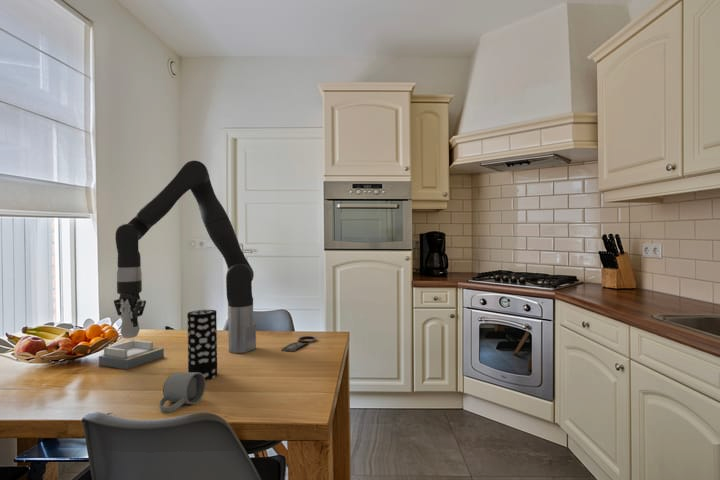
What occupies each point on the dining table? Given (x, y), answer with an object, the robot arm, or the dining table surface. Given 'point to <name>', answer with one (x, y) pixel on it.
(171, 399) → the ceramic mug
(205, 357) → the spotted tube
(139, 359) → the dock
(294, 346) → the keychain
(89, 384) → the dining table surface
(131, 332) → the salt shaker
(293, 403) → the dining table surface
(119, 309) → the robot arm
